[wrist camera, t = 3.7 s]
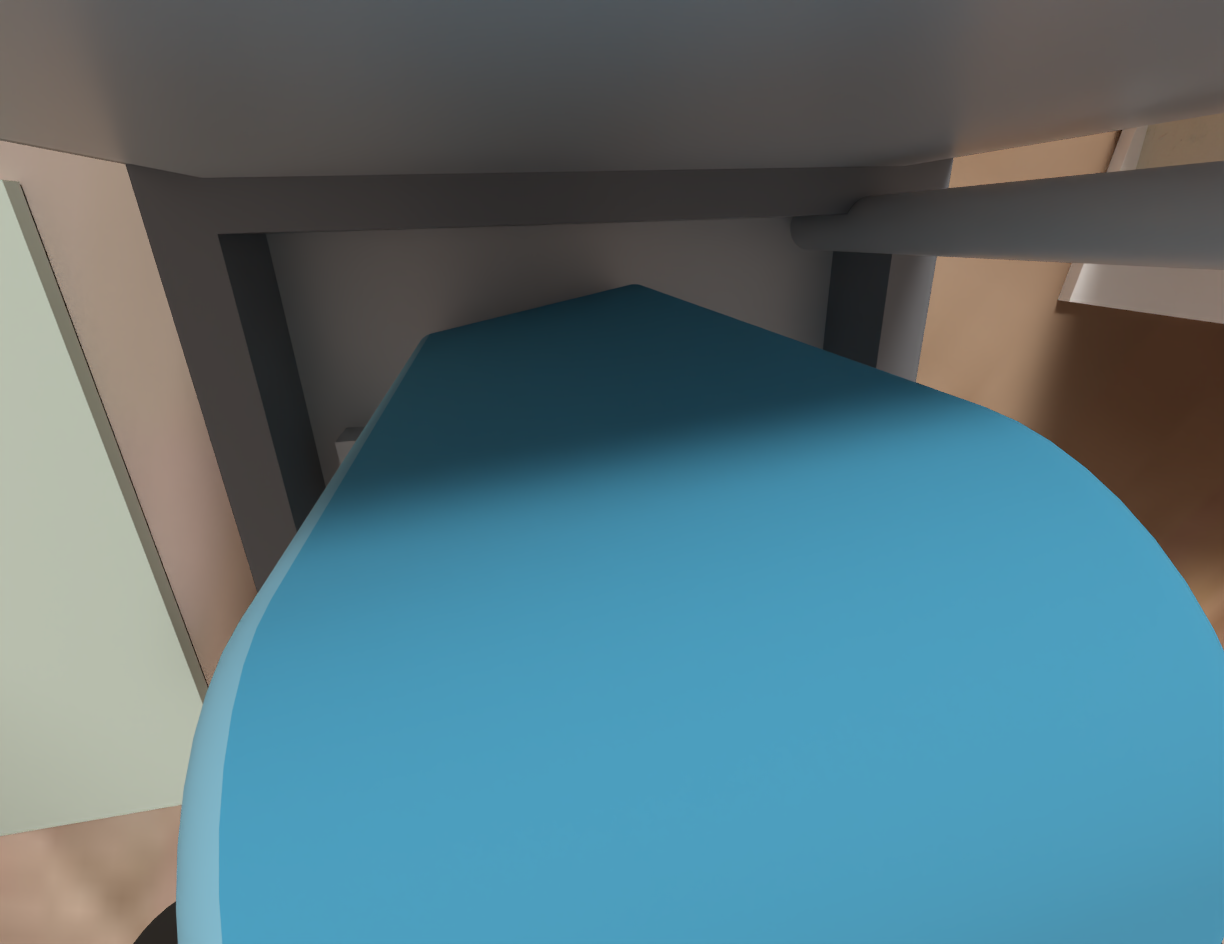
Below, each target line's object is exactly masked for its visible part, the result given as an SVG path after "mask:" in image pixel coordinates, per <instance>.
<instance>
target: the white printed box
mask: <svg viewBox="0 0 1224 944" xmlns="http://www.w3.org/2000/svg"><path fill="white" fill-rule="evenodd" d="M1215 161H1224V113H1220V114H1214V115H1208V116H1202V117H1196V118H1189V119H1183V120H1177V121H1171V122H1165V123H1159V124H1153V125H1147V126H1141V127H1135V128H1129V129H1123V130H1122V133H1121V135H1120V138H1119V141H1118V143H1117V146H1116V148H1115V151H1114V154H1113V156H1112V159H1111V161H1110V164H1109V167H1108V169H1107V172H1115V171H1125V170H1135V169H1145V168H1155V167H1165V166H1175V165H1185V164H1195V163H1205V162H1215ZM1058 300H1060V301H1067V302H1074V303H1081V304H1088V305H1095V306H1102V307H1109V308H1116V309H1123V310H1130V311H1137V312H1144V313H1151V314H1158V315H1165V316H1172V317H1179V318H1186V319H1193V320H1200V321H1207V322H1214V323H1221V324H1224V270H1209V269H1188V268H1168V267H1147V266H1127V265H1107V264H1086V263H1072V264H1071V266H1070V269H1069V272H1068V274H1067V277H1066V279H1065V282H1064V285H1063V287H1062V290H1061V293H1060V295H1059V298H1058Z"/></svg>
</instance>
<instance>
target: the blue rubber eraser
mask: <svg viewBox="0 0 1224 944" xmlns="http://www.w3.org/2000/svg"><path fill="white" fill-rule="evenodd" d="M176 918H177V937H178V944H1221V943H1222V940H1223V938H1224V650H1223V648H1222V646H1221V644H1220V642H1219V639H1218V637H1217V635H1216V633H1215V631H1214V629H1213V627H1212V625H1211V624H1210V622H1209V620H1208V618H1207V617H1206V615H1205V613H1204V612H1203V610H1202V608H1201V606H1200V605H1199V603H1198V601H1197V600H1196V598H1195V596H1194V595H1193V593H1192V591H1191V589H1190V588H1189V586H1188V584H1187V583H1186V581H1185V580H1184V578H1183V577H1182V576H1181V574H1180V573H1179V572H1178V570H1177V569H1176V567H1175V566H1174V565H1173V563H1172V562H1171V560H1170V559H1169V558H1168V556H1167V555H1166V554H1165V552H1164V551H1163V549H1162V548H1161V547H1160V545H1159V544H1158V543H1157V541H1156V540H1155V538H1154V537H1153V536H1152V535H1151V534H1150V533H1149V532H1148V531H1147V529H1146V528H1145V527H1144V526H1143V525H1142V524H1141V523H1140V521H1139V520H1138V519H1137V518H1136V517H1135V516H1134V515H1133V514H1132V512H1131V511H1130V510H1129V509H1128V508H1127V507H1126V506H1125V504H1124V503H1123V502H1122V501H1121V500H1120V499H1119V498H1118V497H1117V496H1116V495H1115V494H1114V493H1112V492H1111V491H1110V490H1109V489H1108V488H1107V487H1106V486H1105V485H1104V484H1103V483H1102V482H1101V481H1100V480H1099V479H1097V478H1096V477H1095V476H1094V475H1093V474H1092V473H1091V472H1090V471H1089V470H1088V469H1087V468H1085V467H1084V466H1083V465H1081V464H1080V463H1079V462H1078V461H1076V460H1075V459H1074V458H1072V457H1071V456H1070V455H1068V454H1067V453H1066V452H1064V451H1063V450H1062V449H1060V448H1059V447H1058V446H1056V445H1055V444H1054V443H1052V442H1051V441H1050V440H1048V439H1046V438H1045V437H1043V436H1041V435H1040V434H1038V433H1036V432H1035V431H1033V430H1031V429H1029V428H1028V427H1026V426H1024V425H1023V424H1021V423H1019V422H1018V421H1015V420H1013V419H1011V418H1009V417H1006V416H1004V415H1002V414H999V413H997V412H995V411H993V410H990V409H988V408H986V407H983V406H981V405H978V404H975V403H972V402H969V401H966V400H964V399H961V398H958V397H955V396H952V395H950V394H947V393H944V392H941V391H938V390H935V389H933V388H930V387H927V386H924V385H921V384H919V383H916V382H913V381H910V380H907V379H904V378H902V377H899V376H896V375H893V374H890V373H888V372H885V371H882V370H879V369H876V368H873V367H871V366H868V365H865V364H862V363H859V362H857V361H854V360H851V359H848V358H845V357H842V356H840V355H837V354H834V353H831V352H828V351H825V350H823V349H820V348H817V347H814V346H811V345H809V344H806V343H803V342H800V341H797V340H794V339H792V338H789V337H786V336H783V335H780V334H778V333H775V332H772V331H769V330H766V329H763V328H761V327H758V326H755V325H752V324H749V323H747V322H744V321H741V320H738V319H735V318H732V317H730V316H727V315H724V314H721V313H718V312H715V311H713V310H710V309H707V308H704V307H701V306H699V305H696V304H693V303H690V302H687V301H684V300H682V299H679V298H676V297H673V296H670V295H668V294H665V293H662V292H659V291H656V290H653V289H651V288H648V287H645V286H642V285H639V284H630V285H626V286H622V287H618V288H614V289H610V290H606V291H602V292H598V293H594V294H590V295H586V296H582V297H578V298H574V299H569V300H565V301H561V302H557V303H553V304H549V305H545V306H541V307H537V308H533V309H529V310H525V311H521V312H517V313H512V314H508V315H504V316H500V317H496V318H492V319H488V320H484V321H480V322H476V323H472V324H468V325H464V326H460V327H456V328H451V329H447V330H443V331H439V332H435V333H431V334H428V335H426V336H425V337H424V338H422V339H421V341H420V342H419V344H418V345H417V347H416V349H415V350H414V352H413V353H412V355H411V356H410V358H409V359H408V361H407V362H406V364H405V366H404V367H403V369H402V370H401V372H400V373H399V375H398V376H397V378H396V380H395V381H394V383H393V384H392V386H391V387H390V389H389V390H388V392H387V394H386V395H385V397H384V398H383V400H382V401H381V403H380V404H379V406H378V407H377V409H376V411H375V412H374V414H373V415H372V417H371V418H370V420H369V421H368V423H367V425H366V426H365V428H364V429H363V431H362V432H361V434H360V435H359V437H358V439H357V440H356V442H355V443H354V445H353V446H352V448H351V449H350V451H349V452H348V454H347V456H346V457H345V459H344V460H343V462H342V463H341V465H340V466H339V468H338V470H337V471H336V473H335V474H334V476H333V477H332V479H331V480H330V482H329V484H328V485H327V487H326V488H325V490H324V491H323V493H322V494H321V496H320V497H319V499H318V501H317V502H316V504H315V505H314V507H313V508H312V510H311V511H310V513H309V515H308V516H307V518H306V519H305V521H304V522H303V524H302V525H301V527H300V529H299V530H298V532H297V533H296V535H295V536H294V538H293V539H292V541H291V542H290V544H289V546H288V547H287V549H286V550H285V552H284V553H283V555H282V556H281V558H280V560H279V561H278V563H277V564H276V566H275V567H274V569H273V570H272V572H271V573H270V575H269V577H268V578H267V580H266V581H265V583H264V584H263V586H262V587H261V589H260V591H259V592H258V594H257V595H256V597H255V598H254V600H253V601H252V603H251V605H250V606H249V608H248V609H247V611H246V612H245V614H244V615H243V617H242V618H241V620H240V622H239V623H238V625H237V627H236V629H235V631H234V632H233V634H232V636H231V638H230V640H229V641H228V643H227V645H226V647H225V649H224V651H223V652H222V655H221V657H220V660H219V662H218V665H217V667H216V670H215V672H214V675H213V677H212V680H211V682H210V685H209V687H208V690H207V692H206V695H205V699H204V702H203V706H202V709H201V713H200V716H199V720H198V723H197V727H196V730H195V734H194V737H193V742H192V748H191V753H190V758H189V763H188V769H187V774H186V779H185V784H184V790H183V800H182V809H181V819H180V828H179V837H178V849H177V887H176Z"/></svg>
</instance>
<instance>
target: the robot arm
mask: <svg viewBox="0 0 1224 944" xmlns="http://www.w3.org/2000/svg"><path fill="white" fill-rule="evenodd" d="M134 944H178V937H177V918H176V902H174V903H173V904H172V905H170V906H169V907H168V908H166V909H165V910H164V911H163V912H162V913H161V914H159V915H158V916H157V917H156V918H155V919H154V920H153V921H152V922H151V923H150V924H149V925H148V926H147V927H146V929H145V930H144V931H143V932H142V933H141V935H140V936H139V937H138V938H137V940H136V941H135V942H134ZM1221 944H1222V943H1221Z"/></svg>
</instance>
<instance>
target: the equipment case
mask: <svg viewBox="0 0 1224 944" xmlns="http://www.w3.org/2000/svg"><path fill="white" fill-rule="evenodd" d="M1220 113H1224V0H0V140H1V141H7V142H12V143H17V144H22V145H27V146H33V147H38V148H43V149H48V150H54V151H59V152H64V153H69V154H74V155H80V156H85V157H90V158H95V159H101V160H106V161H111V162H116V163H121V164H126V167H127V171H128V174H129V177H130V180H131V184H132V187H133V190H134V193H135V197H136V200H137V203H138V206H139V210H140V213H141V216H142V219H143V223H144V226H145V229H146V232H147V236H148V239H149V242H150V245H151V249H152V252H153V255H154V258H155V262H156V265H157V268H158V271H159V275H160V278H161V281H162V284H163V287H164V291H165V294H166V297H167V300H168V304H169V307H170V310H171V313H172V317H173V320H174V323H175V326H176V330H177V333H178V336H179V339H180V343H181V346H182V349H183V352H184V356H185V359H186V362H187V365H188V369H189V372H190V375H191V378H192V382H193V385H194V388H195V391H196V395H197V398H198V401H199V404H200V407H201V411H202V414H203V417H204V420H205V424H206V427H207V430H208V433H209V437H210V440H211V443H212V446H213V450H214V453H215V456H216V459H217V463H218V466H219V469H220V472H221V476H222V479H223V482H224V485H225V489H226V492H227V495H228V498H229V502H230V505H231V508H232V511H233V515H234V518H235V521H236V524H237V527H238V531H239V534H240V537H241V540H242V544H243V547H244V550H245V553H246V557H247V560H248V563H249V566H250V570H251V573H252V576H253V579H254V583H255V586H256V589H257V592H259V591H260V589H261V587H262V586H263V584H264V583H265V581H266V580H267V578H268V577H269V575H270V573H271V572H272V570H273V569H274V567H275V566H276V564H277V563H278V561H279V560H280V558H281V556H282V555H283V553H284V552H285V550H286V549H287V547H288V546H289V544H290V542H291V541H292V539H293V538H294V536H295V535H296V533H297V532H298V530H299V529H300V527H301V525H302V524H303V522H304V521H305V519H306V518H307V516H308V515H309V513H310V511H311V510H312V508H313V507H314V505H315V504H316V502H317V501H318V499H319V497H320V496H321V494H322V493H323V491H324V490H325V488H326V487H327V485H328V484H329V482H330V480H331V479H332V477H333V476H334V474H335V473H336V471H337V470H338V468H339V466H340V465H341V463H342V462H343V460H344V459H345V457H346V456H347V454H348V452H349V451H350V449H351V448H352V446H353V445H354V443H355V442H356V440H357V439H358V437H359V435H360V434H361V432H362V431H363V429H364V428H365V426H366V425H367V423H368V421H369V420H370V418H371V417H372V415H373V414H374V412H375V411H376V409H377V407H378V406H379V404H380V403H381V401H382V400H383V398H384V397H385V395H386V394H387V392H388V390H389V389H390V387H391V386H392V384H393V383H394V381H395V380H396V378H397V376H398V375H399V373H400V372H401V370H402V369H403V367H404V366H405V364H406V362H407V361H408V359H409V358H410V356H411V355H412V353H413V352H414V350H415V349H416V347H417V345H418V344H419V342H420V341H421V339H422V338H424V337H425V336H426V335H428V334H431V333H435V332H439V331H443V330H447V329H451V328H456V327H460V326H464V325H468V324H472V323H476V322H480V321H484V320H488V319H492V318H496V317H500V316H504V315H508V314H512V313H517V312H521V311H525V310H529V309H533V308H537V307H541V306H545V305H549V304H553V303H557V302H561V301H565V300H569V299H574V298H578V297H582V296H586V295H590V294H594V293H598V292H602V291H606V290H610V289H614V288H618V287H622V286H626V285H630V284H639V285H642V286H645V287H648V288H651V289H653V290H656V291H659V292H662V293H665V294H668V295H670V296H673V297H676V298H679V299H682V300H684V301H687V302H690V303H693V304H696V305H699V306H701V307H704V308H707V309H710V310H713V311H715V312H718V313H721V314H724V315H727V316H730V317H732V318H735V319H738V320H741V321H744V322H747V323H749V324H752V325H755V326H758V327H761V328H763V329H766V330H769V331H772V332H775V333H778V334H780V335H783V336H786V337H789V338H792V339H794V340H797V341H800V342H803V343H806V344H809V345H811V346H814V347H817V348H820V349H823V350H825V351H828V352H831V353H834V354H837V355H840V356H842V357H845V358H848V359H851V360H854V361H857V362H859V363H862V364H865V365H868V366H871V367H873V368H876V369H879V370H882V371H885V372H888V373H890V374H893V375H896V376H899V377H902V378H904V379H907V380H910V381H913V382H916V377H917V371H918V365H919V359H920V353H921V347H922V341H923V335H924V329H925V324H926V318H927V312H928V306H929V300H930V294H931V288H932V282H933V276H934V270H935V264H936V258H937V256H943V257H964V258H984V259H1005V260H1025V261H1045V262H1066V263H1086V264H1107V265H1127V266H1147V267H1168V268H1188V269H1209V270H1224V161H1215V162H1205V163H1195V164H1185V165H1175V166H1165V167H1155V168H1145V169H1135V170H1125V171H1115V172H1105V173H1096V174H1086V175H1076V176H1066V177H1056V178H1046V179H1036V180H1026V181H1016V182H1006V183H996V184H986V185H976V186H967V187H957V188H948V187H949V181H950V175H951V169H952V163H953V158H955V157H961V156H967V155H973V154H979V153H985V152H991V151H997V150H1003V149H1009V148H1015V147H1021V146H1027V145H1033V144H1039V143H1045V142H1051V141H1057V140H1063V139H1069V138H1075V137H1081V136H1087V135H1093V134H1099V133H1105V132H1111V131H1117V130H1123V129H1129V128H1135V127H1141V126H1147V125H1153V124H1159V123H1165V122H1171V121H1177V120H1183V119H1189V118H1196V117H1202V116H1208V115H1214V114H1220Z"/></svg>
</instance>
